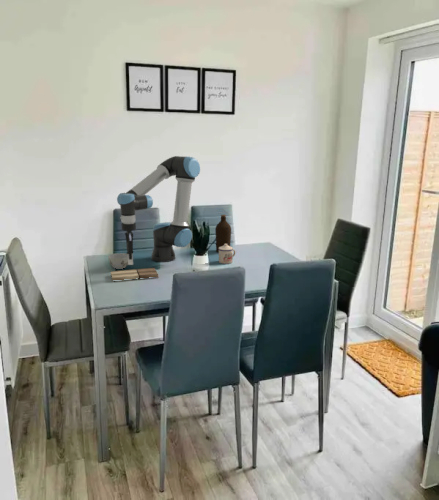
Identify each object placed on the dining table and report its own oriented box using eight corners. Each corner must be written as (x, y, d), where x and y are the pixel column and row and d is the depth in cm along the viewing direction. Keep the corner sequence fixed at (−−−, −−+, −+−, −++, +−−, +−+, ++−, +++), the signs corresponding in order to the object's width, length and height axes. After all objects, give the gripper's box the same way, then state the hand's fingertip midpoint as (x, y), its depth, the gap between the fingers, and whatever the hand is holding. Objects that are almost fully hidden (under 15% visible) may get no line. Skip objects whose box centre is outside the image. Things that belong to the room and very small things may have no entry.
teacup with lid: (223, 265, 270) (224, 246, 267) (215, 261, 277) (215, 243, 274) (239, 261, 277) (239, 243, 274) (230, 258, 284) (230, 240, 281)
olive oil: (233, 250, 302) (234, 214, 296) (226, 254, 293) (226, 217, 287) (220, 248, 307) (220, 213, 301) (212, 252, 299) (212, 215, 292)
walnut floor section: (137, 273, 254) (136, 269, 253) (154, 271, 257) (154, 267, 256) (140, 279, 243) (139, 275, 242) (158, 277, 246) (158, 273, 245)
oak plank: (110, 275, 249) (110, 271, 249) (135, 273, 254) (135, 269, 253) (112, 282, 238) (112, 278, 238) (138, 279, 242) (138, 275, 242)
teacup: (134, 268, 261) (134, 255, 259) (115, 273, 254) (114, 259, 252) (122, 263, 272) (121, 250, 270) (103, 266, 265) (102, 254, 263)
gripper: (120, 220, 244) (122, 261, 250) (122, 225, 232) (124, 268, 238) (134, 220, 246) (135, 260, 252) (137, 224, 234) (138, 267, 240)
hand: (130, 264), depth 245 cm, fingers closed
